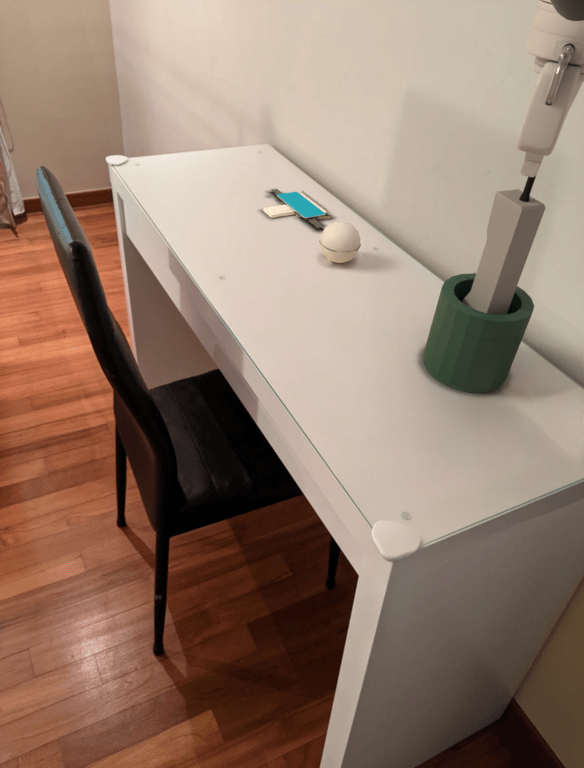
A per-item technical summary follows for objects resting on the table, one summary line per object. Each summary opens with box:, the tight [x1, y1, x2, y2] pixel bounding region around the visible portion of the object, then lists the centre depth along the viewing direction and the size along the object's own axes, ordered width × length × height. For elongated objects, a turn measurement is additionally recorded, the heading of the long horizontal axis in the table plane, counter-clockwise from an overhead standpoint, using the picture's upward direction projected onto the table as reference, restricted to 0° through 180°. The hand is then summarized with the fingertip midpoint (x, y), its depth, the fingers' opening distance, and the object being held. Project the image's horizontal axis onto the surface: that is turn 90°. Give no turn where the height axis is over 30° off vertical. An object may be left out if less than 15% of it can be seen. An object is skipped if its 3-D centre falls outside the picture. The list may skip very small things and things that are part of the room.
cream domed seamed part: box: [319, 220, 364, 264], centre depth 109 cm, size 10×7×7 cm
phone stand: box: [262, 188, 332, 232], centre depth 127 cm, size 20×12×2 cm, turn 30°
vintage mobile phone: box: [462, 175, 546, 315], centre depth 76 cm, size 4×5×25 cm
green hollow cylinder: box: [422, 273, 535, 394], centre depth 86 cm, size 12×12×12 cm
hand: (529, 171), depth 71 cm, fingers closed on vintage mobile phone
